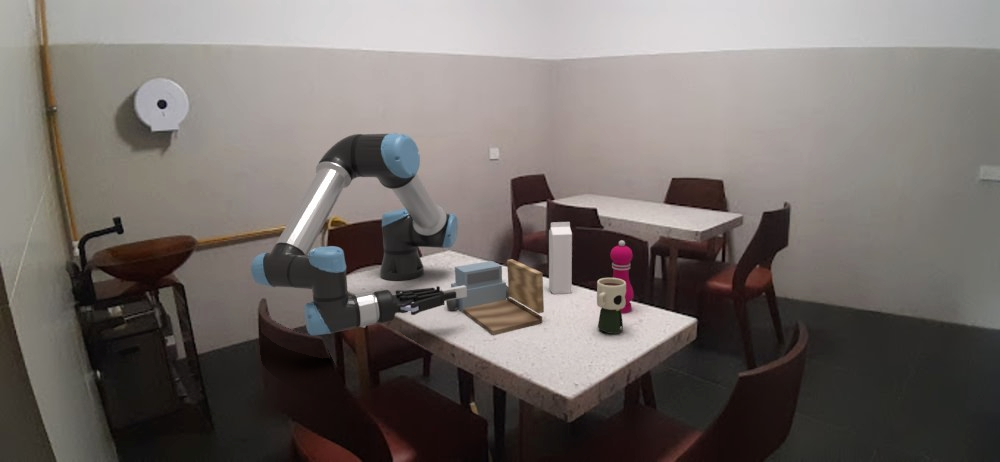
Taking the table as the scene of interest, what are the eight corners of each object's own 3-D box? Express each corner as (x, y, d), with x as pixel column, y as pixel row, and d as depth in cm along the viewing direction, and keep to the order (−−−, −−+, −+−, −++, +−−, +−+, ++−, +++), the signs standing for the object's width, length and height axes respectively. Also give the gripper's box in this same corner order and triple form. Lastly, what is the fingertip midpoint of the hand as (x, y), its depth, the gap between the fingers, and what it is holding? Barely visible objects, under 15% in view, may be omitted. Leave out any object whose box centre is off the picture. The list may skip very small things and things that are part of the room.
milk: (571, 293, 159) (572, 223, 154) (552, 294, 158) (552, 224, 154) (567, 287, 165) (568, 219, 160) (548, 287, 164) (548, 220, 159)
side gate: (508, 296, 150) (506, 260, 147) (513, 295, 150) (512, 259, 148) (538, 313, 136) (537, 274, 133) (544, 312, 137) (542, 272, 134)
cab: (444, 305, 151) (442, 267, 148) (500, 294, 159) (499, 258, 157) (455, 314, 144) (453, 274, 141) (513, 301, 153) (513, 264, 150)
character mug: (611, 341, 125) (613, 290, 122) (586, 333, 129) (587, 284, 126) (633, 327, 132) (635, 279, 130) (608, 320, 137) (610, 273, 134)
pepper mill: (618, 315, 140) (620, 244, 136) (601, 307, 147) (603, 239, 142) (638, 310, 144) (641, 241, 139) (621, 303, 150) (623, 236, 145)
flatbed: (463, 312, 145) (462, 306, 145) (508, 302, 152) (508, 297, 151) (492, 335, 129) (492, 328, 129) (542, 323, 136) (542, 316, 136)
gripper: (368, 314, 128) (455, 297, 139) (383, 332, 116) (477, 312, 127) (366, 285, 126) (454, 270, 137) (381, 300, 115) (476, 283, 126)
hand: (465, 291), depth 132 cm, fingers closed
